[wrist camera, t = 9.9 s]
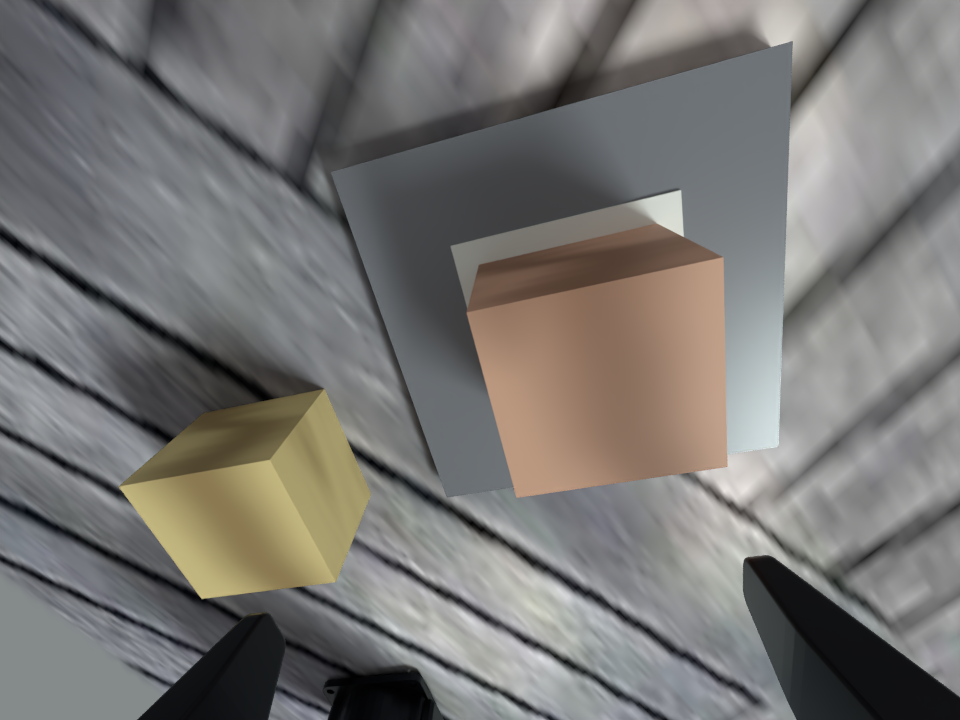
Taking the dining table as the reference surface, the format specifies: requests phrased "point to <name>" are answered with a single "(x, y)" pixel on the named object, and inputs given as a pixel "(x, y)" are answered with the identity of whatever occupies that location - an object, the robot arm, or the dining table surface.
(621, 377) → the terracotta brick
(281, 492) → the ochre brick
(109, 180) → the dining table surface
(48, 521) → the dining table surface
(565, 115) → the charcoal baseplate
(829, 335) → the dining table surface
